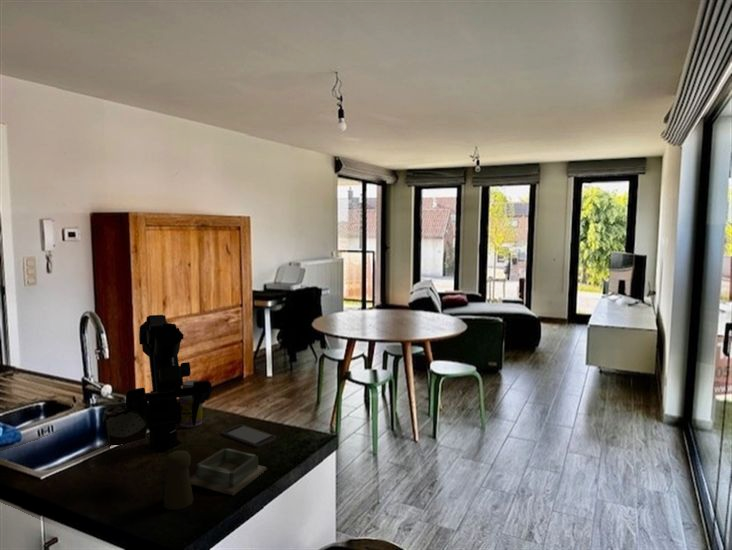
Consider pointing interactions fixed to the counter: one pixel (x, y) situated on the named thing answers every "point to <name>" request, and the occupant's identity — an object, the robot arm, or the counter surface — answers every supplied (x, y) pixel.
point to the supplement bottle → (189, 408)
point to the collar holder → (227, 471)
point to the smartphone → (248, 435)
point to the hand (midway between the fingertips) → (173, 428)
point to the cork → (178, 481)
